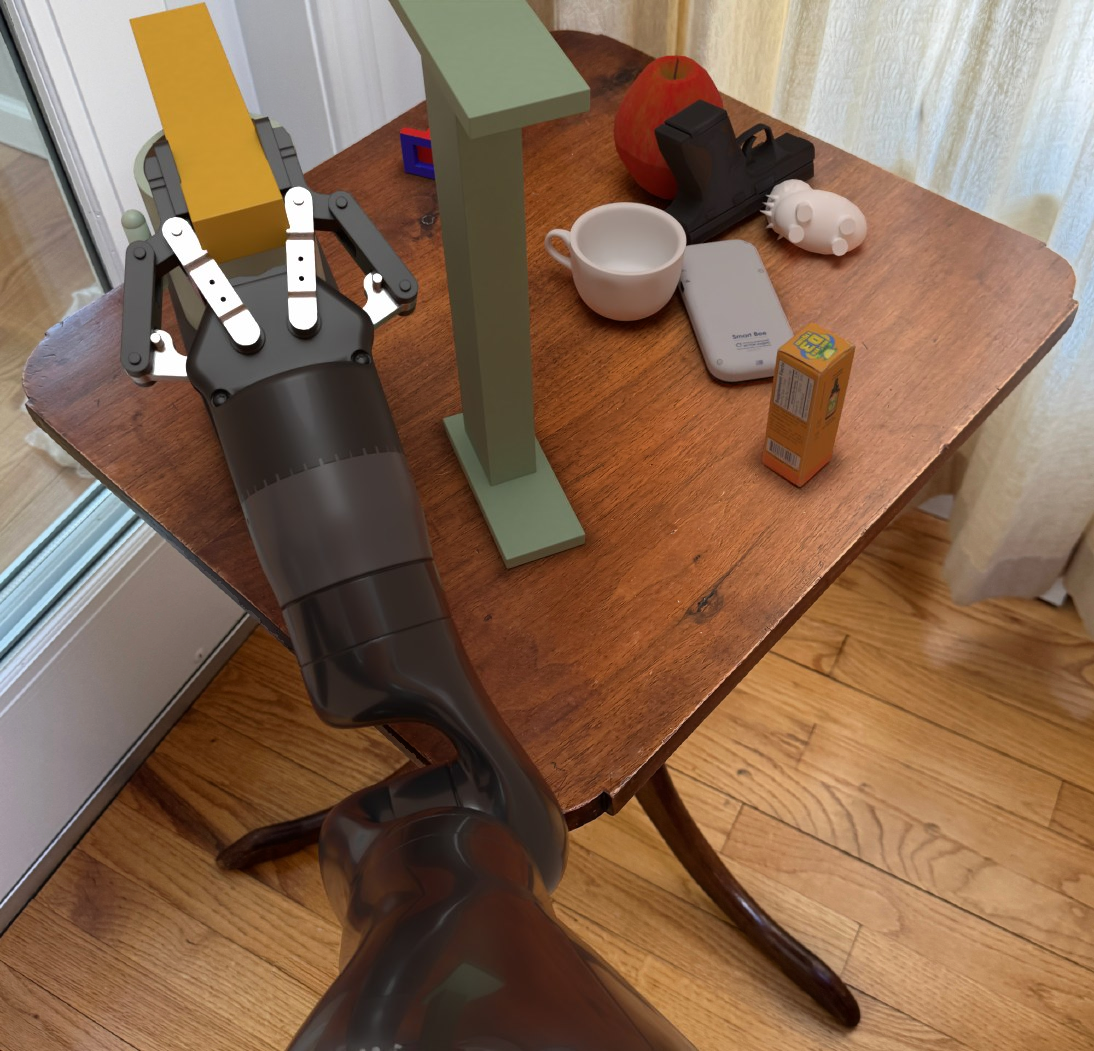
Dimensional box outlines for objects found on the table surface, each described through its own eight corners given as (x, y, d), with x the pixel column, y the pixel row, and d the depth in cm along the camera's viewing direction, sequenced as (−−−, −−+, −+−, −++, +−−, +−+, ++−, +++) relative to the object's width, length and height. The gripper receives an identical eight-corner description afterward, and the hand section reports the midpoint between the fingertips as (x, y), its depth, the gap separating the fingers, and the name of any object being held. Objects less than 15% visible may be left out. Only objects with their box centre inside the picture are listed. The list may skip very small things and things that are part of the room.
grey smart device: (807, 358, 74) (802, 379, 76) (753, 233, 82) (749, 254, 83) (715, 371, 74) (712, 393, 75) (669, 244, 81) (667, 265, 83)
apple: (595, 198, 87) (597, 70, 79) (643, 141, 91) (650, 14, 83) (692, 230, 85) (705, 101, 76) (737, 171, 89) (754, 42, 80)
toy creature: (754, 244, 81) (746, 220, 86) (859, 275, 82) (845, 249, 87) (778, 181, 79) (768, 160, 84) (886, 214, 79) (869, 191, 85)
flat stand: (507, 569, 67) (468, 117, 43) (443, 428, 74) (379, -31, 50) (585, 543, 68) (591, 88, 44) (515, 406, 75) (487, -53, 51)
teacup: (695, 278, 82) (701, 217, 77) (658, 349, 77) (663, 288, 73) (566, 245, 84) (566, 183, 80) (524, 311, 80) (521, 250, 76)
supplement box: (787, 432, 73) (813, 316, 65) (831, 461, 71) (863, 345, 63) (754, 461, 71) (777, 345, 63) (798, 491, 70) (826, 376, 62)
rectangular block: (207, 267, 51) (191, 222, 49) (144, 63, 61) (128, 18, 59) (295, 243, 51) (282, 198, 49) (217, 46, 62) (204, 1, 60)
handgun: (681, 135, 75) (688, 263, 83) (824, 57, 80) (819, 184, 87) (652, 122, 77) (662, 248, 84) (793, 46, 82) (791, 172, 89)
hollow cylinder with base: (228, 511, 70) (118, 237, 53) (201, 411, 75) (92, 132, 58) (383, 465, 72) (324, 186, 55) (346, 370, 77) (281, 88, 60)
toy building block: (427, 142, 92) (518, 163, 90) (404, 172, 90) (497, 194, 88) (422, 103, 89) (516, 124, 88) (399, 132, 87) (495, 155, 85)
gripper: (487, 422, 48) (361, 57, 50) (151, 524, 45) (30, 133, 47) (470, 459, 56) (361, 140, 57) (180, 548, 53) (74, 210, 54)
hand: (212, 139), depth 52 cm, fingers closed on rectangular block, 4 cm apart
